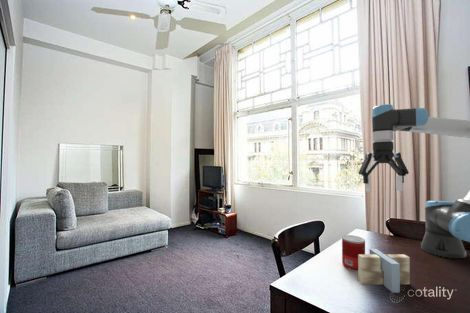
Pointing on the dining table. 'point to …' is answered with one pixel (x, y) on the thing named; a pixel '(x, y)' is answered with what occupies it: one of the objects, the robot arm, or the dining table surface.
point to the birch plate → (372, 268)
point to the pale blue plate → (389, 271)
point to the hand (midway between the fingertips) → (383, 191)
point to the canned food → (352, 251)
